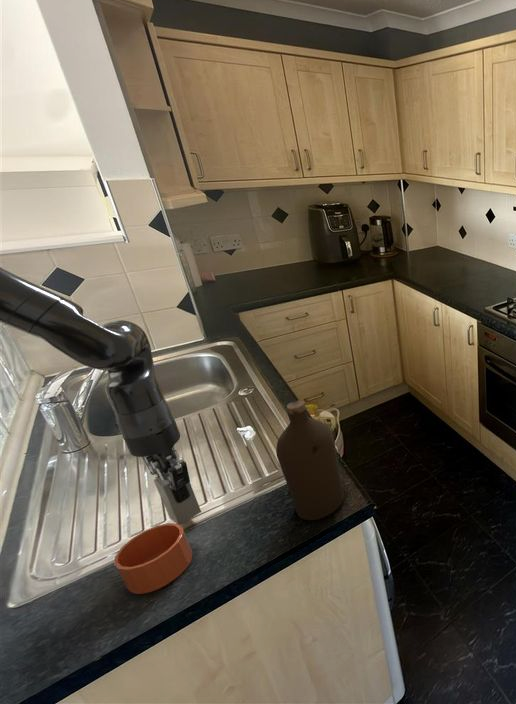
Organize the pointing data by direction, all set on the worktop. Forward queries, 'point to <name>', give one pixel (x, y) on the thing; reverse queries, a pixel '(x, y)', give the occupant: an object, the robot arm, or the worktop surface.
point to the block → (174, 509)
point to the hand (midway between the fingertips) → (177, 495)
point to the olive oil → (309, 464)
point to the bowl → (153, 558)
